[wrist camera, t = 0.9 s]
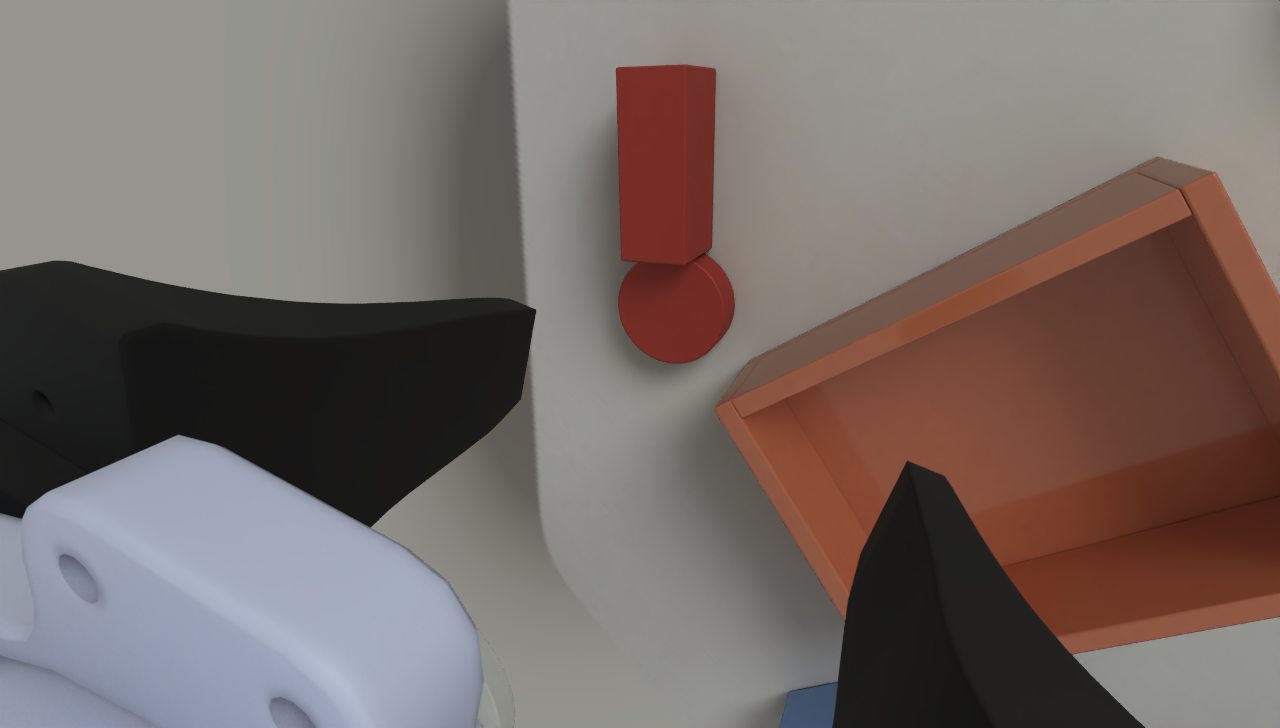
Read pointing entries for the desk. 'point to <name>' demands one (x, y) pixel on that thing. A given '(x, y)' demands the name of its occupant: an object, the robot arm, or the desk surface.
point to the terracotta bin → (1054, 412)
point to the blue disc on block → (810, 707)
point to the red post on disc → (669, 212)
